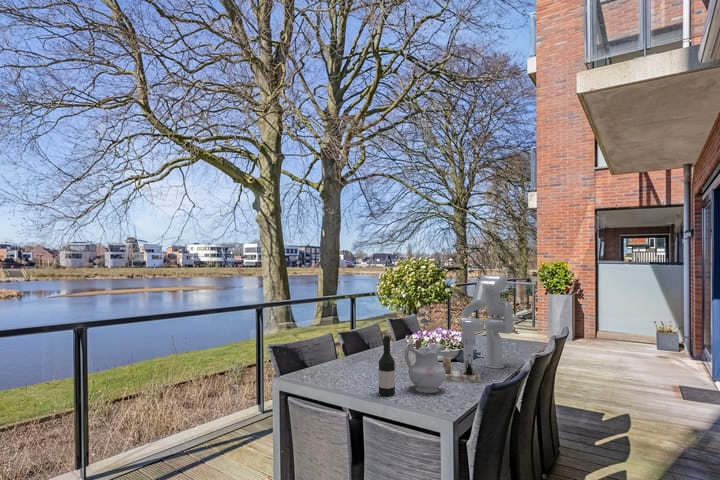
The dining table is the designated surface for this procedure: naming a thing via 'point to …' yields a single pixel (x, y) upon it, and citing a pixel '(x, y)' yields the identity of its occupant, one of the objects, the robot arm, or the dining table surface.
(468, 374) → the oak peg
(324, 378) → the dining table surface
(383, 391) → the wine bottle
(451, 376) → the board
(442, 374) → the ceramic pitcher
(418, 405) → the dining table surface
